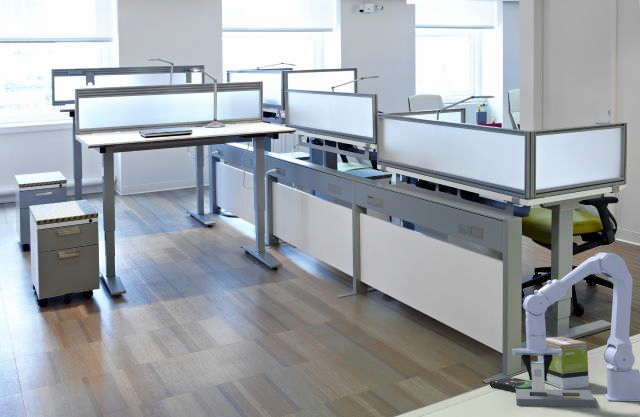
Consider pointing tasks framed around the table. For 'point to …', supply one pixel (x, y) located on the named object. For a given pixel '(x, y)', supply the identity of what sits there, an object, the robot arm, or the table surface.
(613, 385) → the robot arm
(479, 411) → the table surface
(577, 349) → the tea box
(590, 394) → the panel
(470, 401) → the table surface
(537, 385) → the plug
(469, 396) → the table surface
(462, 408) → the table surface
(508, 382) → the disk drive
